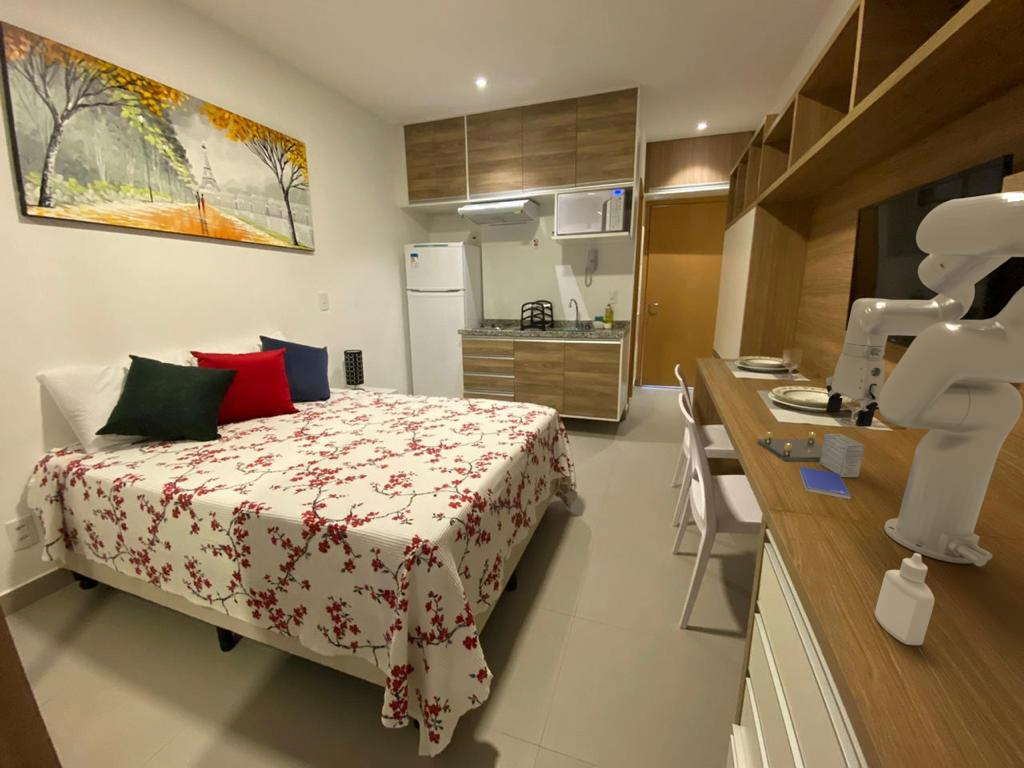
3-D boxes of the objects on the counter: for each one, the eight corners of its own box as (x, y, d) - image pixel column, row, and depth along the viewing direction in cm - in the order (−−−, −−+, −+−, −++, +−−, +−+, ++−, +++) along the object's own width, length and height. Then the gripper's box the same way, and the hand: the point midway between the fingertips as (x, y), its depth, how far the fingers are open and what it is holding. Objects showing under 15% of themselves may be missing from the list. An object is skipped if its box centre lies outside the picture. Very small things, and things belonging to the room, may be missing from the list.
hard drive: (851, 495, 92) (839, 473, 102) (807, 487, 95) (799, 466, 106) (850, 501, 92) (838, 479, 103) (806, 493, 96) (798, 472, 106)
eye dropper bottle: (880, 637, 56) (901, 560, 53) (872, 610, 61) (890, 538, 58) (924, 652, 54) (948, 573, 51) (912, 622, 59) (933, 548, 56)
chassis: (844, 461, 111) (847, 447, 110) (785, 461, 111) (787, 446, 110) (810, 443, 124) (813, 429, 123) (757, 442, 124) (759, 429, 123)
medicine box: (858, 478, 102) (866, 445, 100) (840, 477, 102) (847, 445, 100) (835, 464, 110) (841, 433, 108) (818, 464, 110) (824, 433, 108)
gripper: (912, 358, 90) (892, 432, 95) (849, 345, 107) (836, 407, 112) (877, 358, 90) (860, 432, 95) (820, 345, 107) (808, 407, 112)
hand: (847, 419), depth 103 cm, fingers open, 9 cm apart
